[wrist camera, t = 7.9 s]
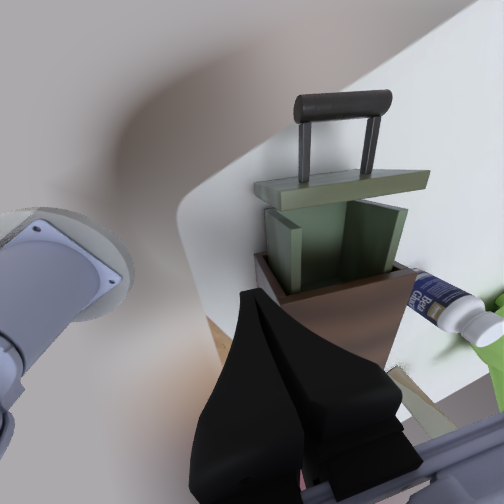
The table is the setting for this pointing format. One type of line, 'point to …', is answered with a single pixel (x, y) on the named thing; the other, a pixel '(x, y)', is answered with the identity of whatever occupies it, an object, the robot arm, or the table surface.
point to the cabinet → (348, 308)
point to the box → (421, 406)
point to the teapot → (495, 358)
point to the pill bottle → (454, 310)
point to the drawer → (335, 203)
